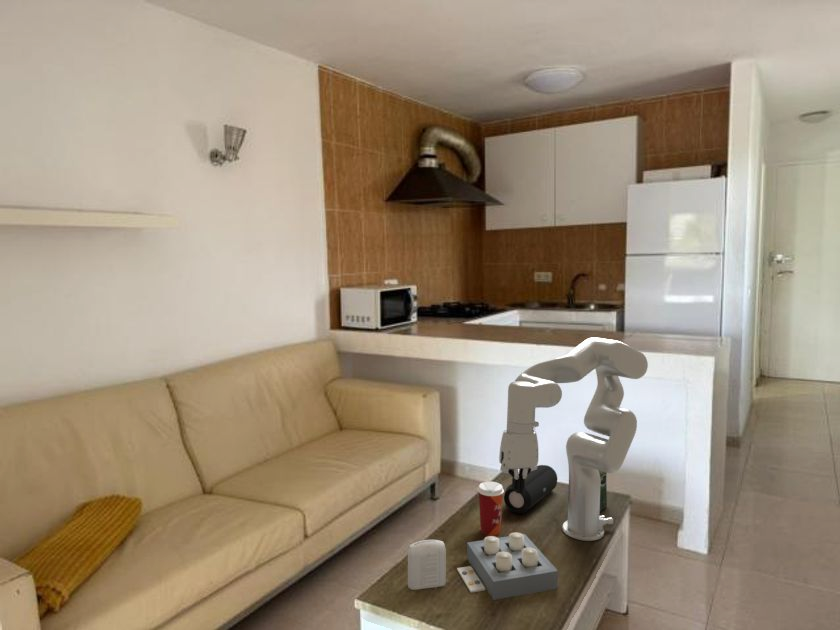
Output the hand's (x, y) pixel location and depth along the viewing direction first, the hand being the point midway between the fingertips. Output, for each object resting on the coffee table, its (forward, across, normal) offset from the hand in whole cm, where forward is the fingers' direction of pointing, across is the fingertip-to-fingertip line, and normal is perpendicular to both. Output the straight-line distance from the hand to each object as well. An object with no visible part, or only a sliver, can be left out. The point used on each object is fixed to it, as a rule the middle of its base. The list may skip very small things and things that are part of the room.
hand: (518, 491), depth 158 cm
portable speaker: (+21, -23, -36) cm, 47 cm away
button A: (+18, -1, -1) cm, 18 cm away
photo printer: (+23, +26, +2) cm, 35 cm away
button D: (+19, +7, +7) cm, 21 cm away
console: (+22, +3, +3) cm, 22 cm away
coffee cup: (+22, -1, -20) cm, 29 cm away
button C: (+19, +7, -1) cm, 20 cm away
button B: (+19, -1, +7) cm, 20 cm away
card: (+22, +14, +3) cm, 27 cm away
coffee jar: (+20, -41, -26) cm, 52 cm away
